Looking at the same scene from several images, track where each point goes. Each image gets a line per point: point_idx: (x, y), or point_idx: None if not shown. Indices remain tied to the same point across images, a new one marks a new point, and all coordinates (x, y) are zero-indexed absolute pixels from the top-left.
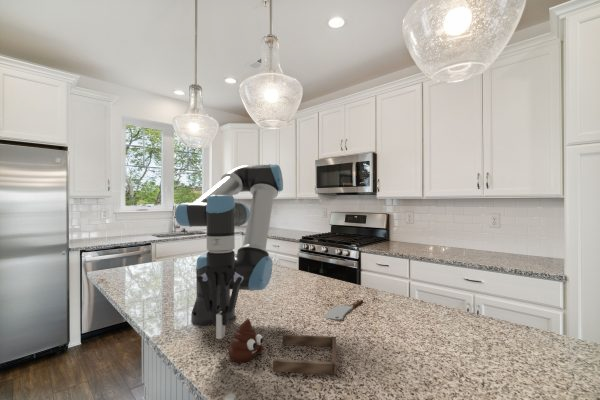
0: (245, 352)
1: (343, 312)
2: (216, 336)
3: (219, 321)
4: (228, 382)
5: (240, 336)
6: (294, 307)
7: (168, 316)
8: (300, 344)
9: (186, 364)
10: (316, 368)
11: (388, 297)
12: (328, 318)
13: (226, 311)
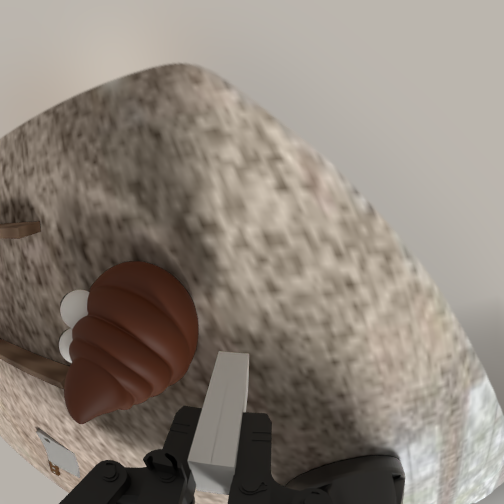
0: (103, 282)
1: (49, 450)
2: (246, 360)
3: (213, 423)
4: (133, 131)
5: (101, 334)
6: None
7: (451, 453)
8: (39, 356)
9: (354, 235)
10: None
11: (34, 464)
12: (60, 444)
13: (152, 476)
